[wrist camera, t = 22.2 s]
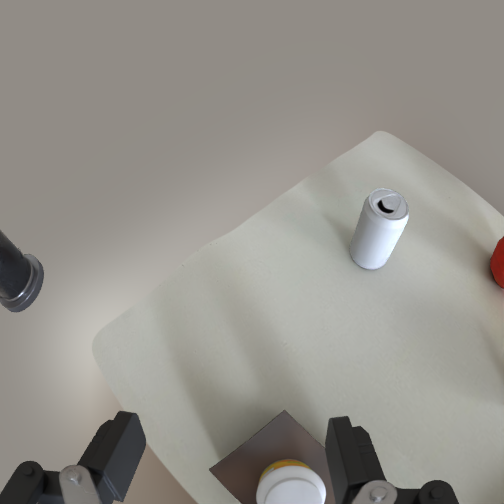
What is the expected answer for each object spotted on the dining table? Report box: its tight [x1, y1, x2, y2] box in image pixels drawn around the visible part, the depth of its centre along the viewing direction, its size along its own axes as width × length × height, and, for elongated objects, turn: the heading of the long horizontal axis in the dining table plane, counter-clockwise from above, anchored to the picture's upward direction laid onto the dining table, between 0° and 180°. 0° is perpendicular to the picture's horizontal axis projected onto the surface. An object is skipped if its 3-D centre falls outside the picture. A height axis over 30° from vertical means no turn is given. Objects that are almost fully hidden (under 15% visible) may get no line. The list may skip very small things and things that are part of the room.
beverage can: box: [350, 188, 409, 269], centre depth 41 cm, size 6×6×12 cm
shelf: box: [209, 410, 336, 504], centre depth 26 cm, size 12×10×8 cm
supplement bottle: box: [256, 459, 326, 504], centre depth 19 cm, size 5×5×10 cm
